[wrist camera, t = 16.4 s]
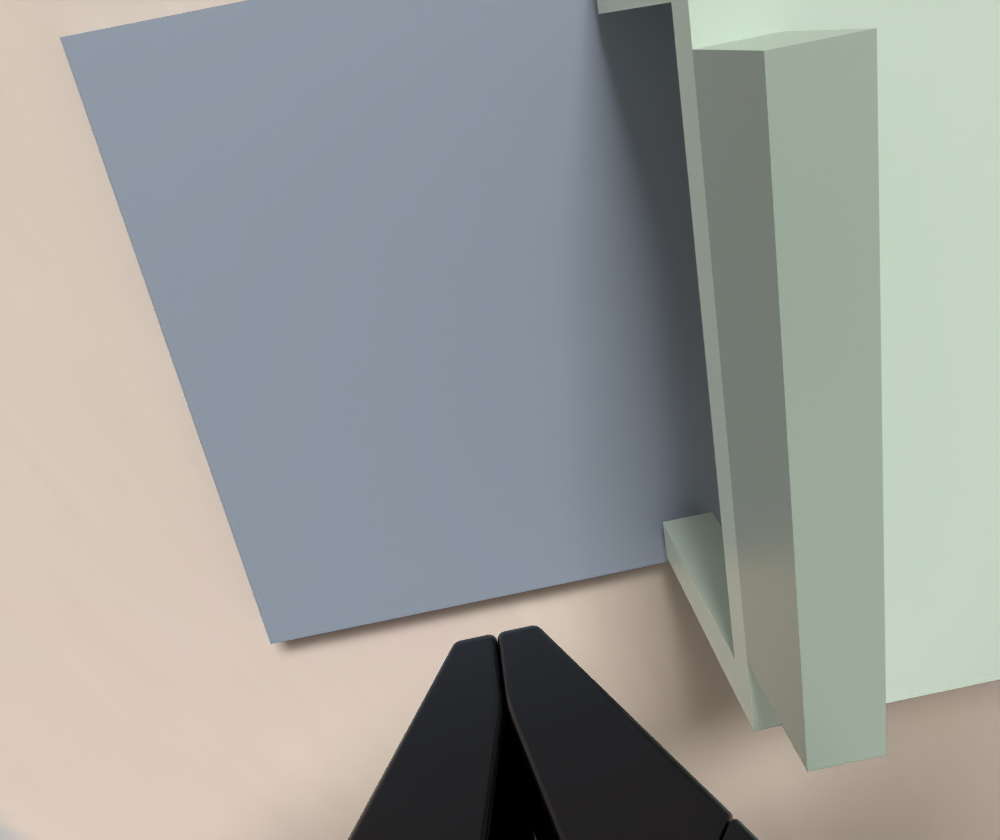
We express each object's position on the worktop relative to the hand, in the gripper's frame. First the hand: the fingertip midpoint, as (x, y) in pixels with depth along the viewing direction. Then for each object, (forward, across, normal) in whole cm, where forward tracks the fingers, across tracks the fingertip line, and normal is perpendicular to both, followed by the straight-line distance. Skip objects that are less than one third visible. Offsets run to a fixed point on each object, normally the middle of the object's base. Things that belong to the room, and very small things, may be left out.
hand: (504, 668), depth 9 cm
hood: (+11, -9, 0) cm, 14 cm away
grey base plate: (+12, -5, 0) cm, 13 cm away
